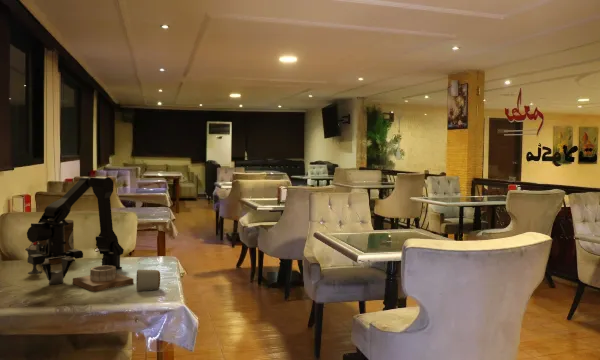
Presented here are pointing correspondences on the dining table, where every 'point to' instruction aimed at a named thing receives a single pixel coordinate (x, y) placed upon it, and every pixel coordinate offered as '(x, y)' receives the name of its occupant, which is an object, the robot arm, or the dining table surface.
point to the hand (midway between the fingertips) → (56, 279)
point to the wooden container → (67, 237)
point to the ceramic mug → (147, 280)
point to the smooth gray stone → (56, 277)
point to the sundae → (32, 251)
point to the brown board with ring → (102, 279)
